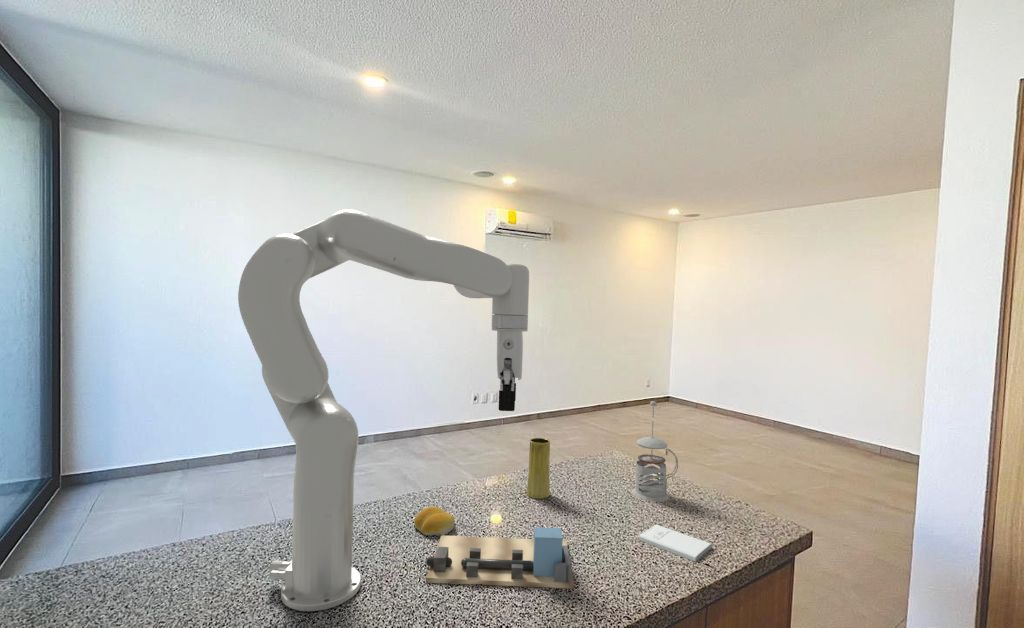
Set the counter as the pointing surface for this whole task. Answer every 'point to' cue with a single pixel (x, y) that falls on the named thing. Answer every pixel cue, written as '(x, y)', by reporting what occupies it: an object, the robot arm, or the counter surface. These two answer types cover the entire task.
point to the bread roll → (434, 521)
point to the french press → (652, 470)
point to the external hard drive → (675, 542)
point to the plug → (543, 554)
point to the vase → (539, 468)
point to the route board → (459, 547)
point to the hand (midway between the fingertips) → (507, 405)
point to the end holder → (563, 567)
